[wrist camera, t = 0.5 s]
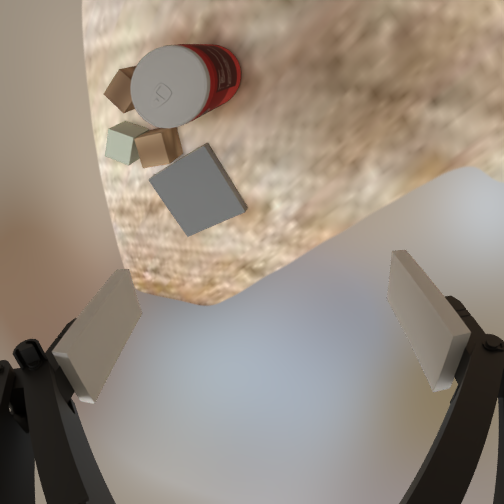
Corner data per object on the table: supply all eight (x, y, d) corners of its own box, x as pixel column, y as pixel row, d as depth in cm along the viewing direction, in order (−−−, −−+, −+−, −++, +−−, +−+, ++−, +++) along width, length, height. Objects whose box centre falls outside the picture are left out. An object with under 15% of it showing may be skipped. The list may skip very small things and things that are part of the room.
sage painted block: (121, 146, 41) (105, 156, 38) (125, 120, 39) (108, 128, 36) (144, 155, 41) (128, 165, 38) (149, 129, 39) (133, 137, 36)
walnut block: (121, 88, 36) (103, 94, 33) (137, 65, 34) (119, 69, 31) (140, 106, 37) (123, 113, 34) (157, 84, 35) (140, 88, 32)
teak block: (150, 130, 39) (134, 138, 36) (176, 124, 38) (161, 132, 35) (157, 157, 41) (142, 168, 38) (183, 153, 40) (169, 163, 37)
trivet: (152, 176, 43) (148, 179, 42) (207, 142, 38) (203, 145, 37) (190, 232, 47) (187, 236, 46) (247, 207, 42) (245, 212, 41)
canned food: (171, 92, 35) (120, 111, 26) (196, 35, 30) (146, 33, 22) (225, 117, 36) (186, 143, 27) (254, 59, 31) (222, 63, 22)
